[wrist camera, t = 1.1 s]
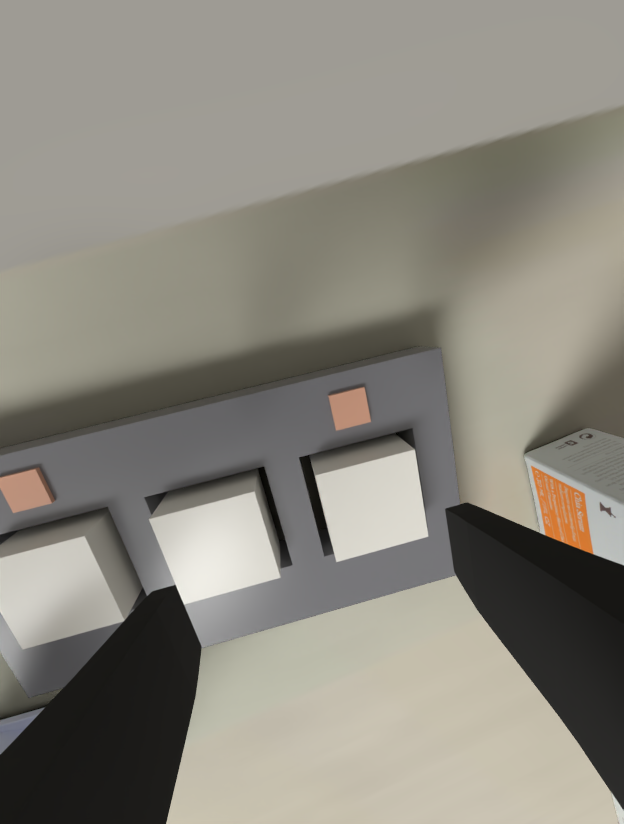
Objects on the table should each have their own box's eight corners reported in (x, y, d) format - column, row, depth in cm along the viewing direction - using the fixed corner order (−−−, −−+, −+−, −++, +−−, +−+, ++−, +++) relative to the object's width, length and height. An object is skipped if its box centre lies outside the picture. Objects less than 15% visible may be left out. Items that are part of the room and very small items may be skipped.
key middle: (280, 543, 17) (280, 577, 14) (196, 566, 16) (183, 604, 14) (257, 468, 15) (254, 491, 13) (168, 491, 15) (148, 519, 13)
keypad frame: (446, 545, 19) (470, 574, 17) (58, 654, 18) (25, 702, 15) (418, 346, 16) (443, 347, 14) (-51, 460, 15) (-112, 483, 12)
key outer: (407, 509, 17) (428, 536, 15) (327, 530, 17) (336, 562, 14) (394, 433, 16) (415, 449, 13) (309, 455, 16) (315, 475, 13)
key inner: (146, 580, 16) (125, 621, 14) (59, 603, 16) (22, 649, 14) (114, 505, 15) (84, 536, 13) (20, 529, 15) (-28, 565, 12)
